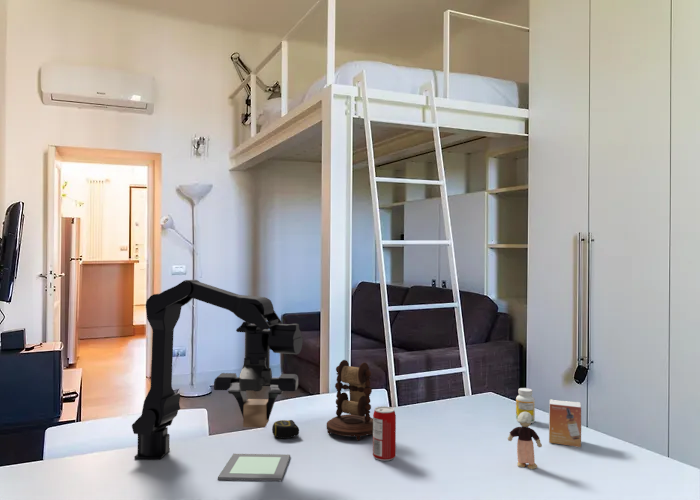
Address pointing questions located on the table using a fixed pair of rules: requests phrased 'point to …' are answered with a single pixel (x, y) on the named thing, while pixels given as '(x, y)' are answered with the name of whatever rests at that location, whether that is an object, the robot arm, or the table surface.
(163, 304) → the robot arm
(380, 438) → the soda can
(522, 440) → the grandmother figurine
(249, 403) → the cube
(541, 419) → the table surface
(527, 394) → the supplement bottle
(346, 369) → the wooden spool holder
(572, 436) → the small box
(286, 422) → the tape measure
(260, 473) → the mat
